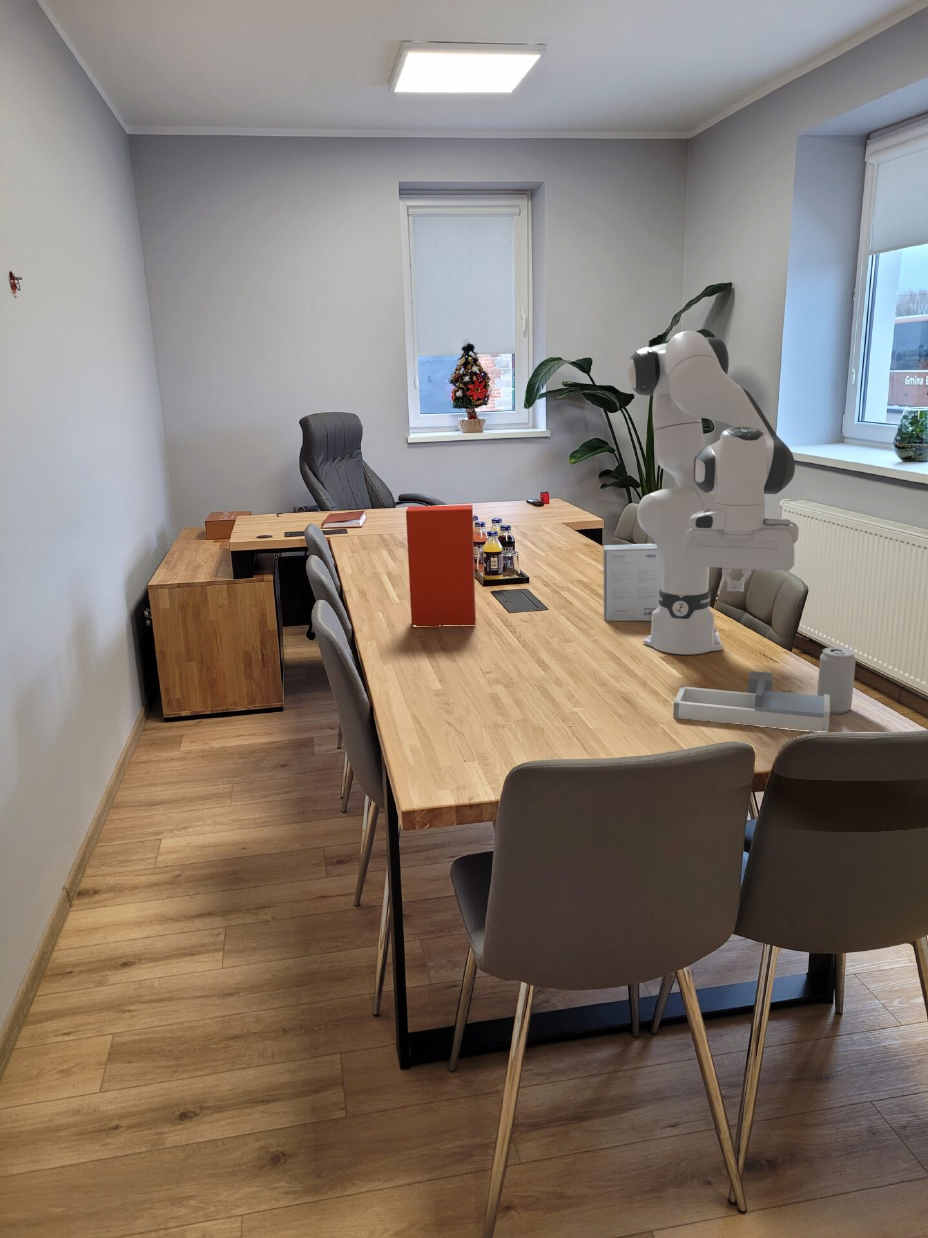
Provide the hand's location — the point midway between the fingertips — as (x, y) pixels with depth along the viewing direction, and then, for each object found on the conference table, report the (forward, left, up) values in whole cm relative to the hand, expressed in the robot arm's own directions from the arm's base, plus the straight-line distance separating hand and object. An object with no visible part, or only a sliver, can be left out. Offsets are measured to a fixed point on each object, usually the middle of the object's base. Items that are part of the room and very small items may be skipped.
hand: (735, 590), depth 166 cm
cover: (0, +11, -22) cm, 24 cm away
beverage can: (-9, +19, -25) cm, 33 cm away
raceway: (0, +4, -25) cm, 25 cm away
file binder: (-46, -80, -25) cm, 96 cm away
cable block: (-11, +5, -25) cm, 28 cm away
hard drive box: (-65, -32, -25) cm, 77 cm away
